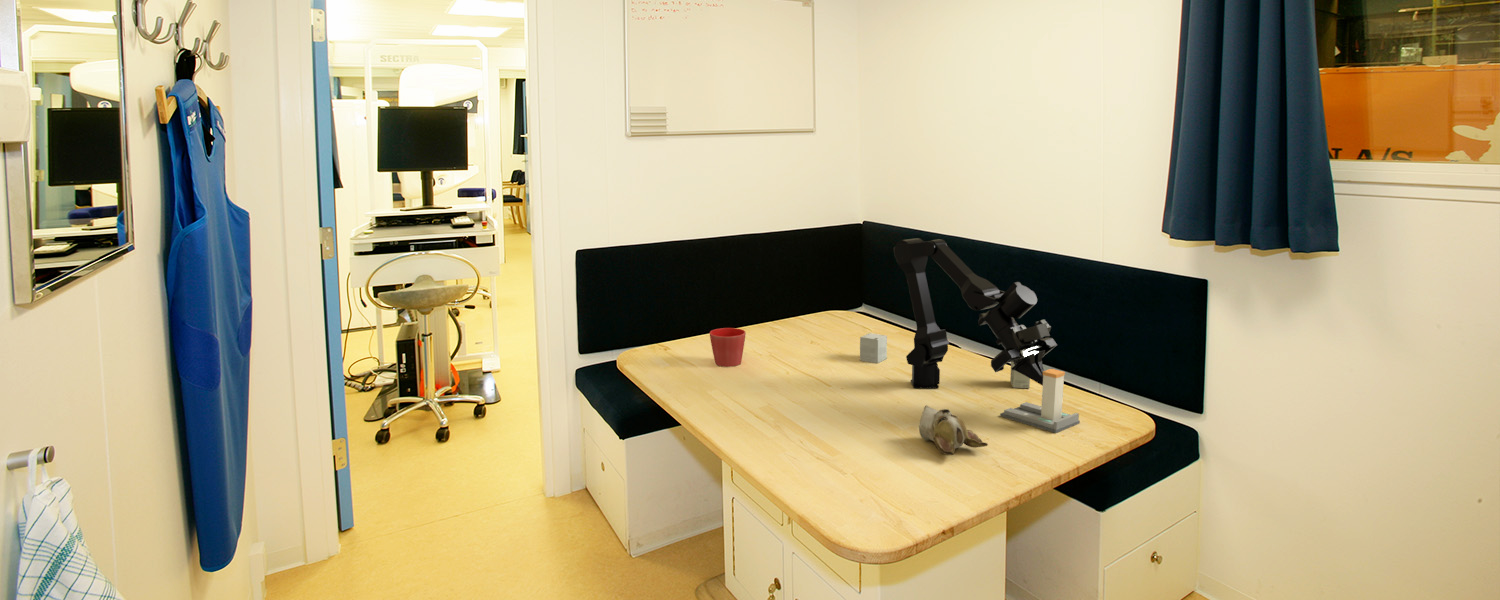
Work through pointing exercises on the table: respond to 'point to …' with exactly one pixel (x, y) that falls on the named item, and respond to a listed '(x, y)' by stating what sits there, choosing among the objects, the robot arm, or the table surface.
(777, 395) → the table surface
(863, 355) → the skincare box
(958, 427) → the ceramic sculpture
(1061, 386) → the fader knob
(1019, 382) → the skincare box
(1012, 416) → the console
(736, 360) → the flower pot
